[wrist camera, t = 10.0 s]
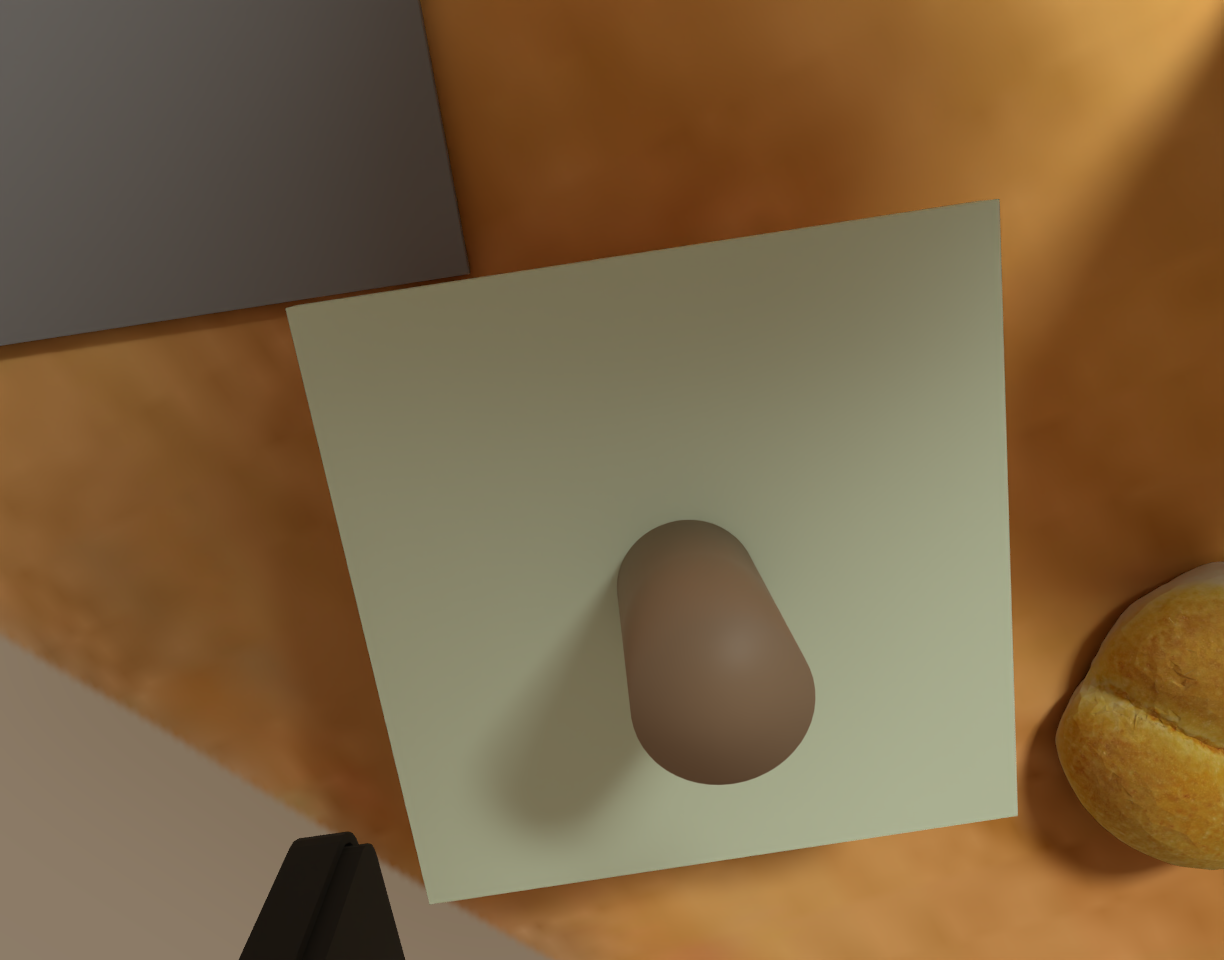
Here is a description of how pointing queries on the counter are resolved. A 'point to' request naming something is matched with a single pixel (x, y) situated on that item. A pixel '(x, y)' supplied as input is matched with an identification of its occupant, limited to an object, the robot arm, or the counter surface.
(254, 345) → the counter surface
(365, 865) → the robot arm
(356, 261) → the mat
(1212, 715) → the bread roll
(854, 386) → the lid
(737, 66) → the counter surface
